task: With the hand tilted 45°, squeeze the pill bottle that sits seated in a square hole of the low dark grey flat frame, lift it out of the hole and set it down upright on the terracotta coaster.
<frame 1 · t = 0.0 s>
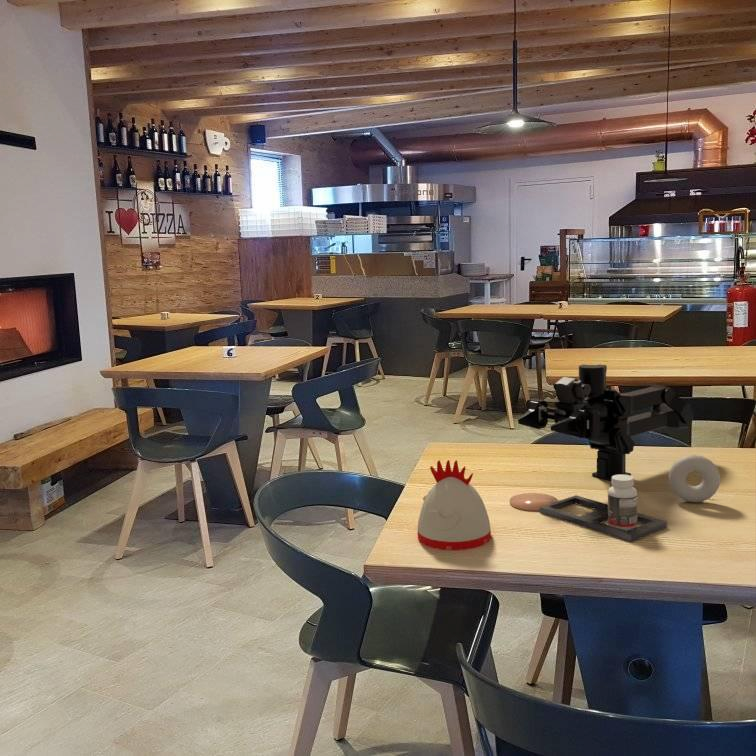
hand: (534, 424, 168), 17 cm above the table, tool horizontal, fingers open, 9 cm apart
coaster: (533, 503, 169), on the table
dark grey flat frame: (601, 519, 157), on the table
donut: (693, 502, 165), on the table
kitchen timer: (454, 537, 152), on the table
pill bottle: (622, 527, 153), resting in dark grey flat frame
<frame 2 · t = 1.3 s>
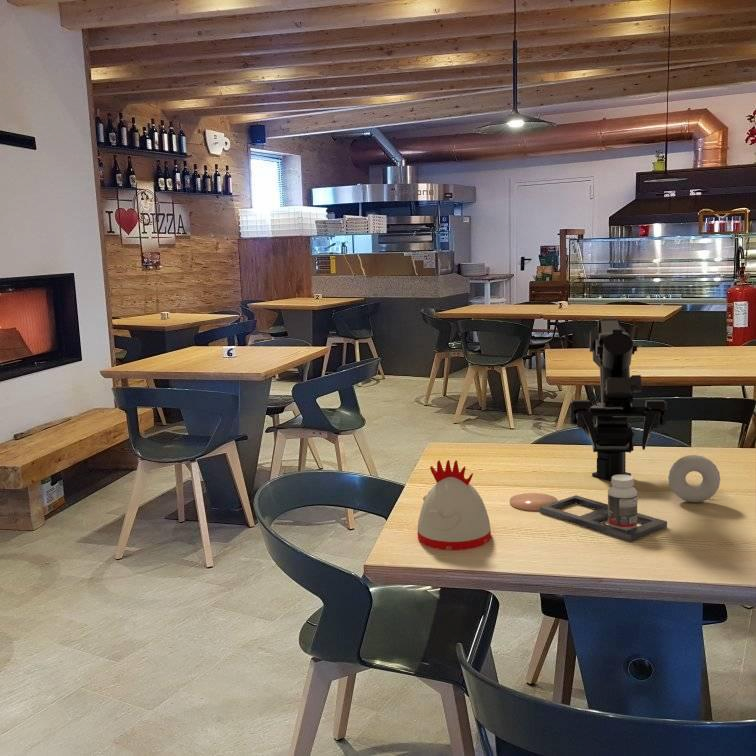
hand: (619, 448, 158), 13 cm above the table, tool tilted 45°, fingers open, 9 cm apart
nothing on the table moved.
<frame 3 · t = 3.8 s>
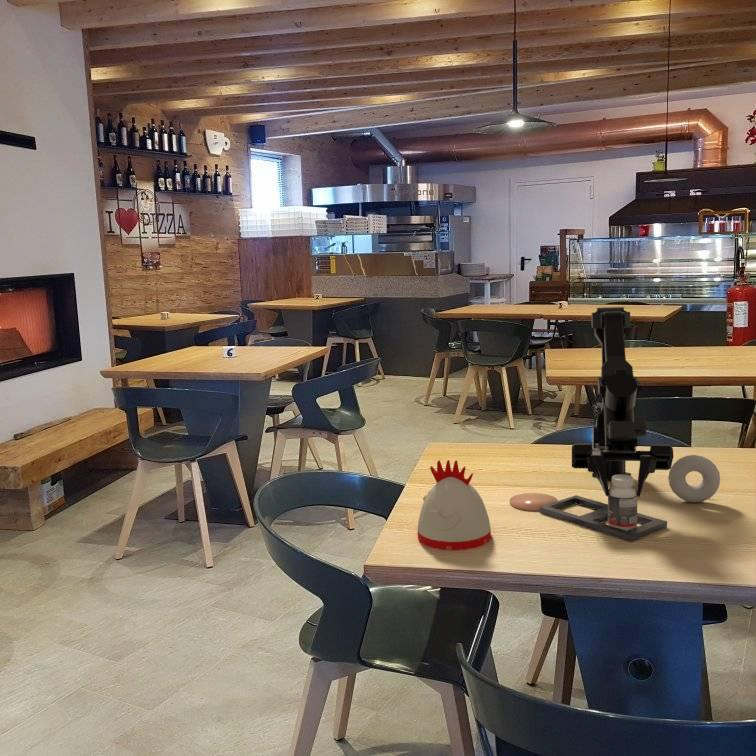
hand: (623, 495, 151), 7 cm above the table, tool tilted 45°, fingers closed on pill bottle, 5 cm apart
pill bottle: (622, 527, 153), resting in dark grey flat frame, touching gripper
everything else where it was.
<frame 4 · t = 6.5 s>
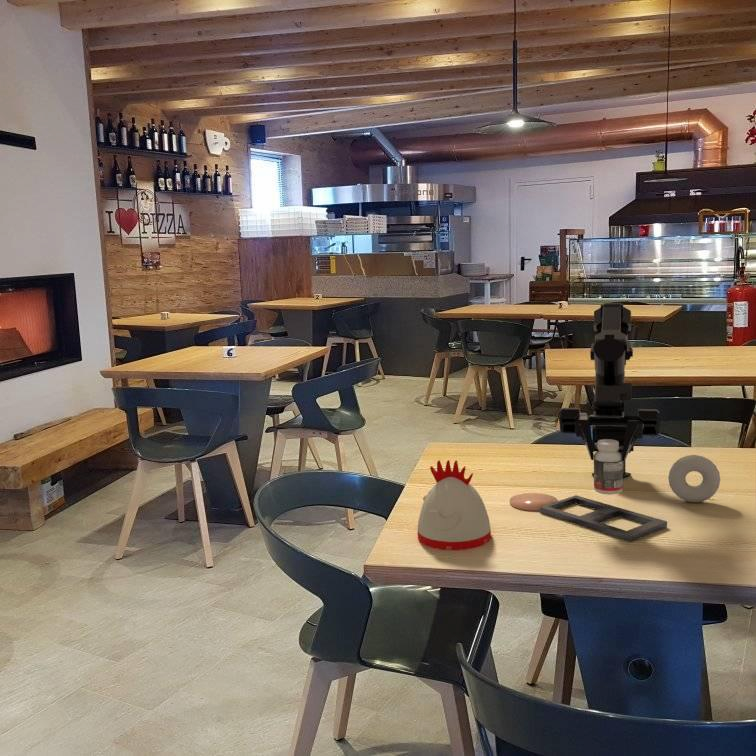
hand: (607, 459, 151), 13 cm above the table, tool tilted 45°, fingers closed on pill bottle, 5 cm apart
pill bottle: (608, 491, 154), point 6 cm above the table, touching gripper
everything else where it was.
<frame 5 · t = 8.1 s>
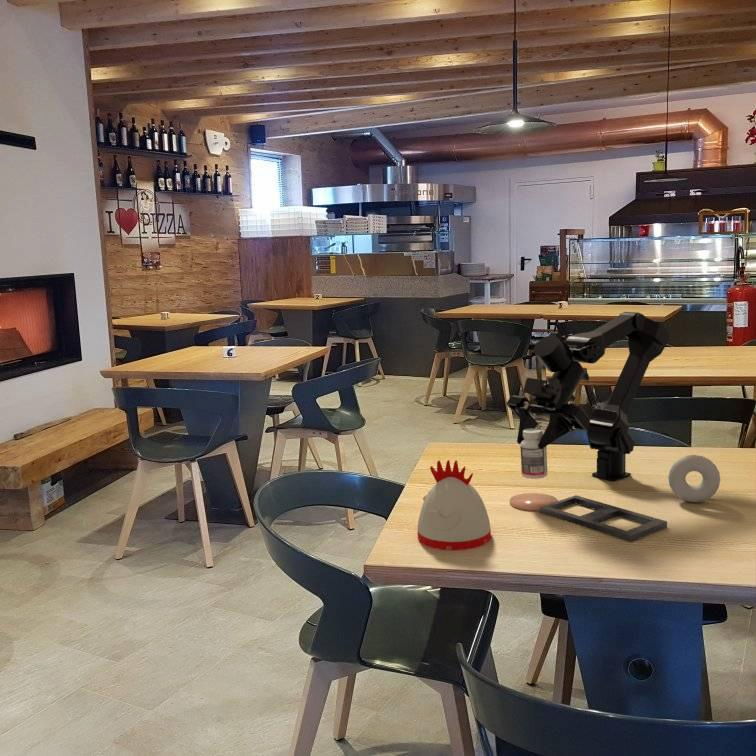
hand: (528, 445, 166), 13 cm above the table, tool tilted 45°, fingers closed on pill bottle, 5 cm apart
pill bottle: (534, 476, 168), point 6 cm above the table, touching gripper
everything else where it was.
when the fingers open (8 cm above the table, at t = 9.5 s): pill bottle stays where it is, resting on coaster.
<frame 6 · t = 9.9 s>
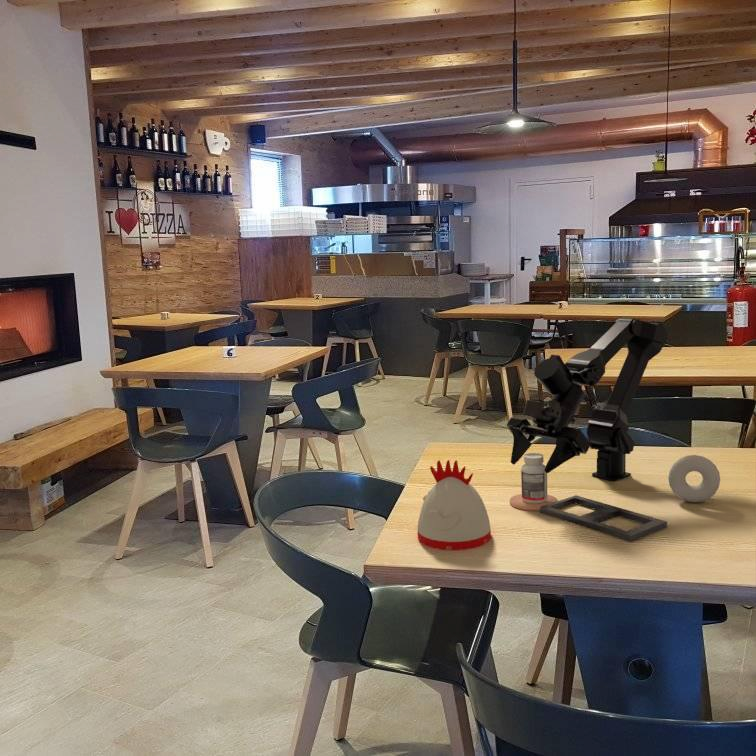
hand: (528, 467, 167), 8 cm above the table, tool tilted 45°, fingers open, 9 cm apart
pill bottle: (534, 501, 169), resting on coaster
everything else where it was.
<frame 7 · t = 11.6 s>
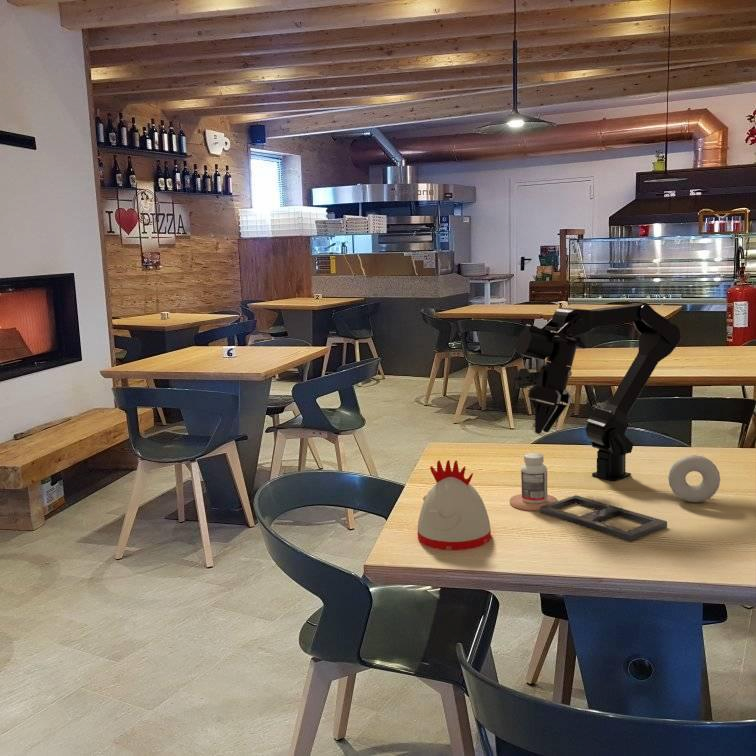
hand: (541, 432, 177), 13 cm above the table, tool tilted 15°, fingers open, 9 cm apart
nothing on the table moved.
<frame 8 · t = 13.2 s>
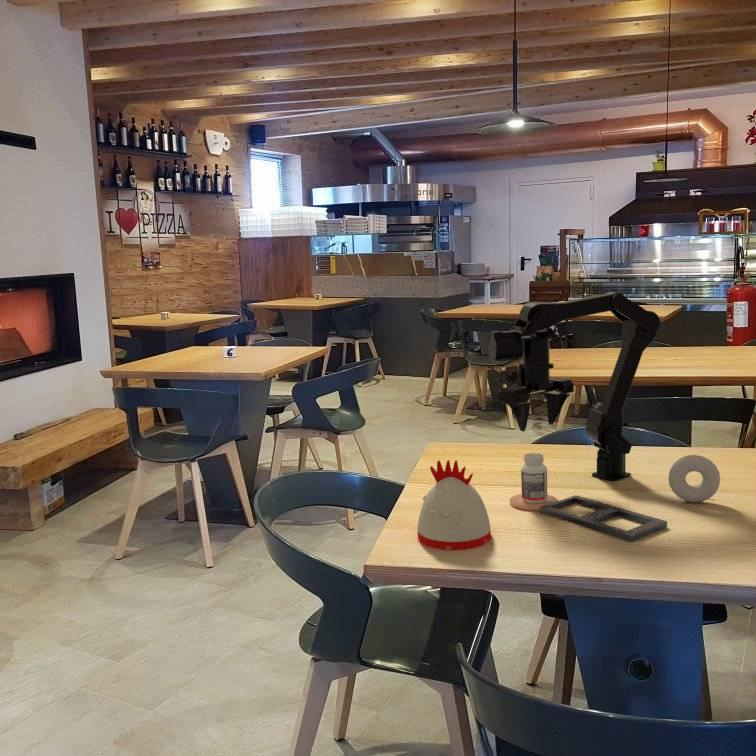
hand: (537, 427, 180), 13 cm above the table, tool pointing down, fingers open, 9 cm apart
nothing on the table moved.
at the end: pill bottle 0.2 cm from the coaster (horizontally); pill bottle tilted 0°; pill bottle resting on coaster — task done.
